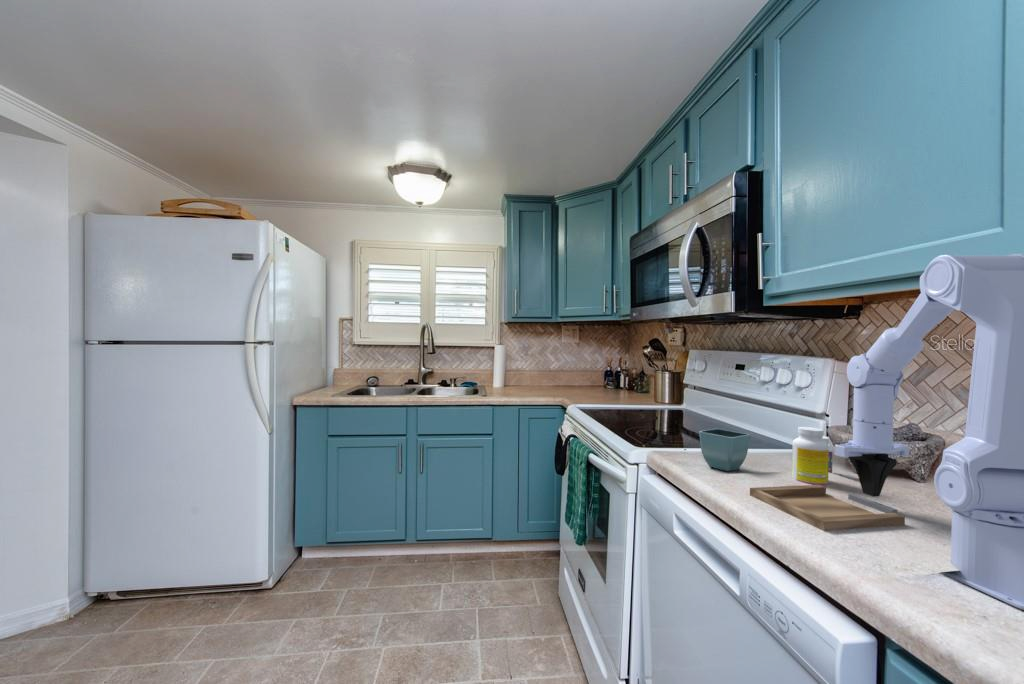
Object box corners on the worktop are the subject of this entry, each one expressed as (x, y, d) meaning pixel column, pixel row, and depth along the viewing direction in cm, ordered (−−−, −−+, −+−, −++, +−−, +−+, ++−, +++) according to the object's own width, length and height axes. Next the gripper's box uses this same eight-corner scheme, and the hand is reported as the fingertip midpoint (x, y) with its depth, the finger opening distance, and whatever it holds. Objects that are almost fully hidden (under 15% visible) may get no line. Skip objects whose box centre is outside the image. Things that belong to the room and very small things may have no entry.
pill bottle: (836, 476, 103) (837, 439, 103) (812, 474, 104) (813, 438, 104) (825, 470, 108) (826, 435, 108) (802, 468, 109) (802, 433, 109)
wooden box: (904, 534, 71) (904, 516, 71) (823, 540, 68) (823, 521, 68) (818, 499, 87) (818, 484, 87) (749, 502, 84) (749, 487, 84)
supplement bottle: (834, 493, 91) (836, 432, 91) (800, 490, 92) (802, 430, 92) (817, 482, 97) (818, 426, 97) (785, 480, 98) (787, 424, 98)
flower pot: (716, 461, 114) (717, 427, 114) (750, 470, 106) (751, 434, 106) (697, 466, 109) (698, 430, 109) (731, 475, 101) (732, 437, 101)
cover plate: (949, 528, 75) (950, 511, 75) (894, 532, 73) (895, 515, 73) (879, 503, 87) (879, 488, 87) (829, 506, 85) (830, 491, 85)
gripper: (882, 417, 85) (880, 485, 85) (820, 418, 82) (818, 488, 82) (922, 424, 78) (920, 498, 78) (856, 425, 75) (854, 502, 75)
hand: (871, 494), depth 80 cm, fingers closed
